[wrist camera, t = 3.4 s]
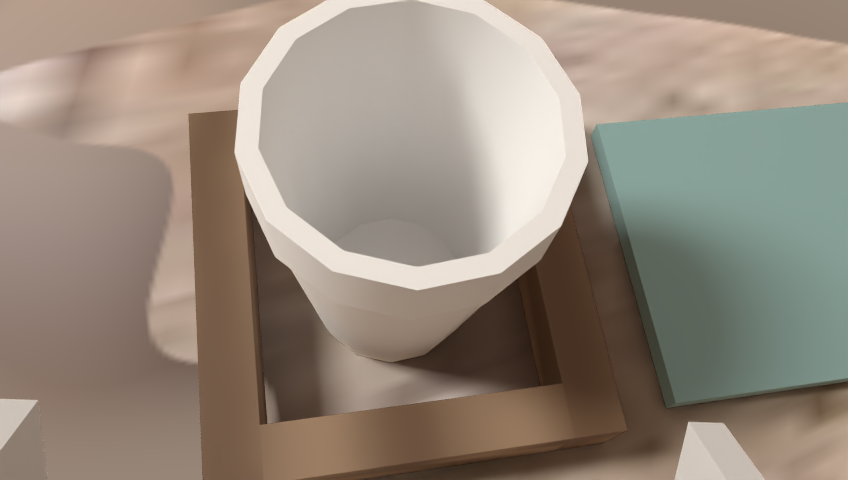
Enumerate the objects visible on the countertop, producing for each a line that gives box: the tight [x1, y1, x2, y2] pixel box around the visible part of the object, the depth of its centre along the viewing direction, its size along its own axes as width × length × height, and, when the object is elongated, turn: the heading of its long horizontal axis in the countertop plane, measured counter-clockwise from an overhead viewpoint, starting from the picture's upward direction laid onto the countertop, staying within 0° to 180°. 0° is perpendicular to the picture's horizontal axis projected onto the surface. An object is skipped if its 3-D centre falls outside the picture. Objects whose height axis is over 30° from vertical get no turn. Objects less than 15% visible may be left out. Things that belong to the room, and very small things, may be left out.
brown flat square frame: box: [189, 110, 627, 480], centre depth 31 cm, size 15×15×3 cm
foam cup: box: [234, 0, 588, 362], centre depth 26 cm, size 10×9×13 cm
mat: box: [591, 103, 848, 408], centre depth 34 cm, size 13×13×1 cm
